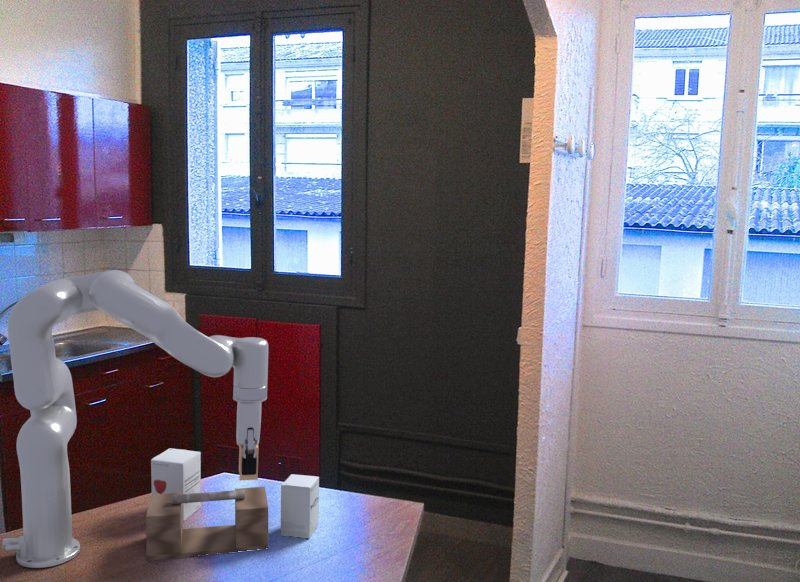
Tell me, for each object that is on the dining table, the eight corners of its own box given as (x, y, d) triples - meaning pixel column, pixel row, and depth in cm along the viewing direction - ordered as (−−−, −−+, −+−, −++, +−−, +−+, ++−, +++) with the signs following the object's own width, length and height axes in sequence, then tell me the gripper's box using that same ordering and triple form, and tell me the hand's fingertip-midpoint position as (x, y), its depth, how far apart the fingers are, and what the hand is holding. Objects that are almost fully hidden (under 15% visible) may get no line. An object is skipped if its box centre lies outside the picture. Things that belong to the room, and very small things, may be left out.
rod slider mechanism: (146, 560, 159) (145, 508, 157) (151, 535, 170) (150, 486, 169) (268, 549, 165) (268, 498, 163) (264, 526, 177) (264, 478, 175)
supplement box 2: (309, 539, 170) (310, 487, 169) (279, 536, 172) (279, 484, 170) (319, 525, 178) (320, 476, 176) (290, 522, 179) (290, 473, 177)
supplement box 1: (150, 517, 180) (149, 459, 178) (170, 503, 188) (169, 447, 186) (183, 522, 178) (182, 463, 176) (202, 507, 186) (201, 450, 184)
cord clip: (239, 480, 164) (240, 448, 163) (238, 470, 170) (239, 439, 169) (257, 479, 165) (258, 447, 164) (256, 469, 171) (257, 438, 170)
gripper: (232, 383, 173) (230, 456, 175) (234, 403, 156) (232, 484, 158) (264, 382, 175) (262, 455, 177) (269, 402, 158) (267, 482, 160)
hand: (248, 468), depth 168 cm, fingers closed on cord clip, 6 cm apart
